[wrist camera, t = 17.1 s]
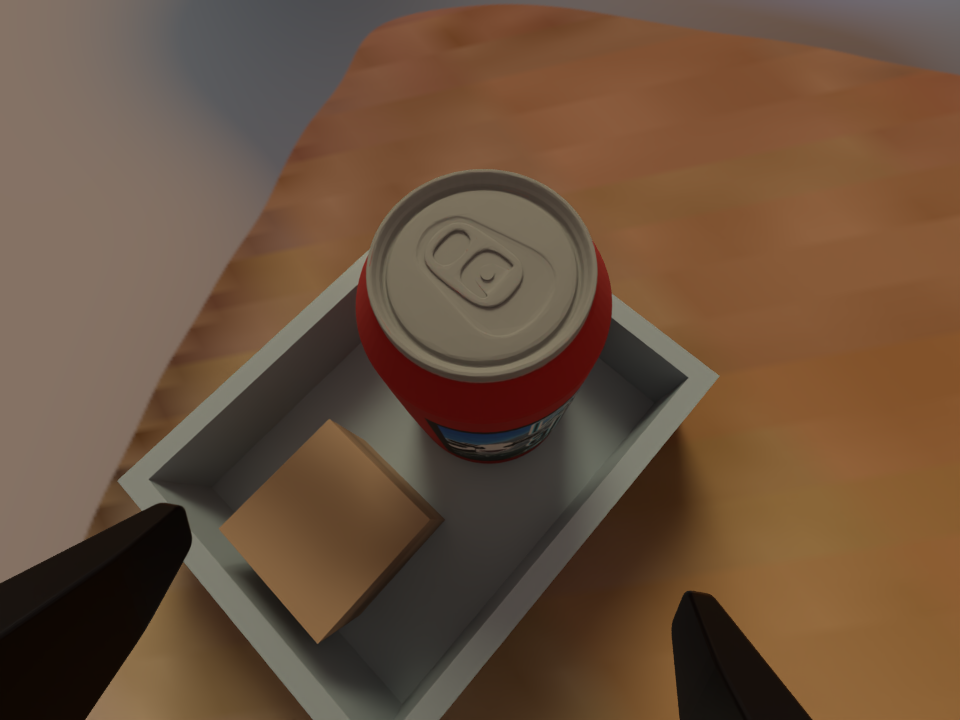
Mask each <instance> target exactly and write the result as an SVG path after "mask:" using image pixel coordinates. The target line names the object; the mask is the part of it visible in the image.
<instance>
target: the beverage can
mask: <svg viewBox="0 0 960 720" xmlns="http://www.w3.org/2000/svg"><path fill="white" fill-rule="evenodd" d="M611 317H612V292H611V285H610V281H609V276H608V273H607V270H606V267H605V264H604V261H603V259H602V257H601V255H600V253H599V251H598V249H597V247H596V245H595V244H594V242H593V241H592V239H591V236H590V234H589V232H588V229H587V228H586V226H585V224H584V222H583V221H582V219H581V218H580V216H579V215H578V213H577V212H576V211H575V210H574V209H573V208H572V206H571V205H570V204H569V203H568V202H567V201H566V200H565V199H563V198H562V197H561V196H560V195H559V194H557V193H556V192H555V191H553V190H552V189H550V188H549V187H547V186H545V185H544V184H542V183H540V182H538V181H536V180H534V179H531V178H529V177H526V176H523V175H520V174H516V173H512V172H508V171H502V170H493V169H475V170H466V171H459V172H454V173H451V174H447V175H444V176H441V177H438V178H435V179H433V180H431V181H429V182H427V183H425V184H423V185H421V186H420V187H418V188H416V189H415V190H413V191H412V192H410V193H409V194H408V195H406V196H405V197H404V198H403V199H402V200H400V201H399V202H398V203H397V204H396V205H395V206H394V207H393V209H392V210H391V211H390V212H389V213H388V214H387V216H386V217H385V218H384V220H383V221H382V223H381V225H380V226H379V228H378V230H377V232H376V234H375V236H374V238H373V241H372V244H371V247H370V250H369V254H368V256H367V258H366V261H365V263H364V265H363V268H362V271H361V274H360V278H359V282H358V287H357V294H356V321H357V328H358V332H359V336H360V340H361V343H362V345H363V348H364V350H365V353H366V355H367V357H368V359H369V361H370V362H371V364H372V366H373V367H374V369H375V370H376V372H377V373H378V374H379V376H380V377H381V378H382V380H383V381H384V382H385V383H386V385H387V386H388V387H389V389H390V390H391V391H392V393H393V394H394V395H395V396H396V398H397V399H398V400H399V401H400V403H401V404H402V405H403V406H404V408H405V409H406V410H407V411H408V413H409V414H410V415H411V416H412V417H413V418H414V420H415V421H416V422H417V423H418V424H419V425H420V427H421V428H422V429H423V430H424V431H425V432H426V433H427V434H428V435H429V436H430V437H431V438H432V440H433V441H434V442H435V443H437V444H438V445H439V446H440V447H441V448H443V449H444V450H445V451H447V452H448V453H450V454H452V455H454V456H456V457H458V458H461V459H463V460H466V461H470V462H475V463H482V464H495V463H503V462H507V461H511V460H514V459H517V458H519V457H521V456H523V455H525V454H527V453H529V452H530V451H532V450H534V449H535V448H536V447H537V446H539V445H540V444H541V443H542V442H543V441H544V440H545V439H546V438H547V437H548V435H549V434H550V433H551V431H552V430H553V429H554V427H555V426H556V425H557V423H558V422H559V420H560V419H561V417H562V416H563V415H564V413H565V412H566V410H567V409H568V407H569V405H570V404H571V402H572V401H573V399H574V398H575V396H576V394H577V393H578V391H579V390H580V388H581V386H582V385H583V383H584V381H585V380H586V378H587V376H588V375H589V373H590V371H591V370H592V368H593V366H594V364H595V363H596V361H597V359H598V358H599V356H600V354H601V352H602V349H603V347H604V345H605V342H606V339H607V336H608V332H609V329H610V323H611Z"/></svg>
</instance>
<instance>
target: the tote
mask: <svg viewBox="0 0 960 720" xmlns="http://www.w3.org/2000/svg"><path fill="white" fill-rule="evenodd" d="M369 250H370V249H369ZM369 250H368V251H367V252H366V253H365V254H364V255H363V256H362V257H361V258H359V259H358V260H357V261H356V262H355V263H354V264H353V265H352V266H351V267H350V268H349V269H348V270H346V271H345V272H344V273H343V274H342V275H341V276H340V277H339V278H338V279H337V280H336V281H334V282H333V283H332V284H331V285H330V286H329V287H328V288H327V289H326V290H325V291H324V292H322V293H321V294H320V295H319V296H318V297H317V298H316V299H315V300H314V301H313V302H312V303H310V304H309V305H308V306H307V307H306V308H305V309H304V310H303V311H302V312H301V313H300V314H298V315H297V316H296V317H295V318H294V319H293V320H292V321H291V322H290V323H289V324H288V325H287V326H285V327H284V328H283V329H282V330H281V331H280V332H279V333H278V334H277V335H276V336H275V337H273V338H272V339H271V340H270V341H269V342H268V343H267V344H266V345H265V346H264V347H263V348H261V349H260V350H259V351H258V352H257V353H256V354H255V355H254V356H253V357H252V358H251V359H249V360H248V361H247V362H246V363H245V364H244V365H243V366H242V367H241V368H240V369H239V370H238V371H236V372H235V373H234V374H233V375H232V376H231V377H230V378H229V379H228V380H227V381H226V382H224V383H223V384H222V385H221V386H220V387H219V388H218V389H217V390H216V391H215V392H214V393H212V394H211V395H210V396H209V397H208V398H207V399H206V400H205V401H204V402H203V403H202V404H200V405H199V406H198V407H197V408H196V409H195V410H194V411H193V412H192V413H191V414H190V415H188V416H187V417H186V418H185V419H184V420H183V421H182V422H181V423H180V424H179V425H178V426H177V427H175V428H174V429H173V430H172V431H171V432H170V433H169V434H168V435H167V436H166V437H165V438H163V439H162V440H161V441H160V442H159V443H158V444H157V445H156V446H155V447H154V448H153V449H151V450H150V451H149V452H148V453H147V454H146V455H145V456H144V457H143V458H142V459H141V460H139V461H138V462H137V463H136V464H135V465H134V466H133V467H132V468H131V469H130V470H129V471H128V472H126V473H125V474H124V475H123V476H122V477H121V478H120V479H119V480H118V482H119V483H120V485H121V486H122V487H123V488H124V490H125V491H126V492H127V493H128V494H129V496H130V497H131V498H132V499H133V501H134V502H135V503H136V504H137V505H138V507H139V508H140V509H141V510H142V511H143V510H145V509H147V508H149V507H151V506H153V505H155V504H158V503H171V504H177V505H181V506H183V507H184V508H185V510H186V514H187V517H188V521H189V525H190V529H191V533H192V544H191V548H190V550H189V552H188V554H187V556H186V558H185V560H184V561H183V562H184V563H185V564H186V565H187V566H188V568H189V569H190V570H191V571H192V573H193V574H194V575H195V576H196V577H197V579H198V580H199V581H200V582H201V584H202V585H203V586H204V587H205V588H206V590H207V591H208V592H209V593H210V595H211V596H212V597H213V598H214V599H215V601H216V602H217V603H218V604H219V606H220V607H221V608H222V609H223V610H224V612H225V613H226V614H227V615H228V617H229V618H230V619H231V620H232V621H233V623H234V624H235V625H236V626H237V628H238V629H239V630H240V631H241V632H242V634H243V635H244V636H245V637H246V638H247V640H248V641H249V642H250V643H251V645H252V646H253V647H254V648H255V649H256V651H257V652H258V653H259V654H260V656H261V657H262V658H263V659H264V660H265V662H266V663H267V664H268V665H269V667H270V668H271V669H272V670H273V671H274V673H275V674H276V675H277V676H278V678H279V679H280V680H281V681H282V682H283V684H284V685H285V686H286V687H287V689H288V690H289V691H290V692H291V693H292V695H293V696H294V697H295V698H296V700H297V701H298V702H299V703H300V704H301V706H302V707H303V708H304V709H305V711H306V712H307V713H308V714H309V715H310V717H311V718H312V719H313V720H440V718H441V717H442V716H443V715H444V713H445V712H446V711H447V710H448V709H449V707H450V706H451V705H452V704H453V702H454V701H455V700H456V699H457V698H458V696H459V695H460V694H461V693H462V691H463V690H464V689H465V688H466V686H467V685H468V684H469V683H470V682H471V680H472V679H473V678H474V677H475V675H476V674H477V673H478V672H479V671H480V669H481V668H482V667H483V666H484V664H485V663H486V662H487V661H488V660H489V658H490V657H491V656H492V655H493V653H494V652H495V651H496V650H497V648H498V647H499V646H500V645H501V644H502V642H503V641H504V640H505V639H506V637H507V636H508V635H509V634H510V633H511V631H512V630H513V629H514V628H515V626H516V625H517V624H518V623H519V621H520V620H521V619H522V618H523V617H524V615H525V614H526V613H527V612H528V610H529V609H530V608H531V607H532V606H533V604H534V603H535V602H536V601H537V599H538V598H539V597H540V596H541V595H542V593H543V592H544V591H545V590H546V588H547V587H548V586H549V585H550V583H551V582H552V581H553V580H554V579H555V577H556V576H557V575H558V574H559V572H560V571H561V570H562V569H563V568H564V566H565V565H566V564H567V563H568V561H569V560H570V559H571V558H572V556H573V555H574V554H575V553H576V552H577V550H578V549H579V548H580V547H581V545H582V544H583V543H584V542H585V541H586V539H587V538H588V537H589V536H590V534H591V533H592V532H593V531H594V529H595V528H596V527H597V526H598V525H599V523H600V522H601V521H602V520H603V518H604V517H605V516H606V515H607V514H608V512H609V511H610V510H611V509H612V507H613V506H614V505H615V504H616V503H617V501H618V500H619V499H620V498H621V496H622V495H623V494H624V493H625V491H626V490H627V489H628V488H629V487H630V485H631V484H632V483H633V482H634V480H635V479H636V478H637V477H638V476H639V474H640V473H641V472H642V471H643V469H644V468H645V467H646V466H647V464H648V463H649V462H650V461H651V460H652V458H653V457H654V456H655V455H656V453H657V452H658V451H659V450H660V449H661V447H662V446H663V445H664V444H665V442H666V441H667V440H668V439H669V438H670V436H671V435H672V434H673V433H674V431H675V430H676V429H677V428H678V426H679V425H680V424H681V423H682V422H683V420H684V419H685V418H686V417H687V415H688V414H689V413H690V412H691V411H692V409H693V408H694V407H695V406H696V404H697V403H698V402H699V401H700V399H701V398H702V397H703V396H704V395H705V393H706V392H707V391H708V390H709V388H710V387H711V386H712V385H713V384H714V382H715V381H716V380H717V379H718V377H719V375H718V374H716V373H715V372H714V371H712V370H711V369H710V368H708V367H707V366H706V365H704V364H703V363H702V362H701V361H699V360H698V359H697V358H695V357H694V356H693V355H691V354H690V353H689V352H687V351H686V350H685V349H684V348H682V347H681V346H680V345H678V344H677V343H676V342H674V341H673V340H672V339H670V338H669V337H668V336H667V335H665V334H664V333H663V332H661V331H660V330H659V329H657V328H656V327H655V326H653V325H652V324H651V323H650V322H648V321H647V320H646V319H644V318H643V317H642V316H640V315H639V314H638V313H636V312H635V311H634V310H633V309H631V308H630V307H629V306H627V305H626V304H625V303H623V302H622V301H621V300H619V299H618V298H617V297H616V296H614V295H613V294H612V317H611V323H610V329H609V332H608V336H607V339H606V342H605V345H604V347H603V349H602V352H601V354H600V356H599V358H598V359H597V361H596V363H595V364H594V366H593V368H592V370H591V371H590V373H589V375H588V376H587V378H586V380H585V381H584V383H583V385H582V386H581V388H580V390H579V391H578V393H577V394H576V396H575V398H574V399H573V401H572V402H571V404H570V405H569V407H568V409H567V410H566V412H565V413H564V415H563V416H562V417H561V419H560V420H559V422H558V423H557V425H556V426H555V427H554V429H553V430H552V431H551V433H550V434H549V435H548V437H547V438H546V439H545V440H544V441H543V442H542V443H541V444H540V445H539V446H537V447H536V448H535V449H534V450H532V451H530V452H529V453H527V454H525V455H523V456H521V457H519V458H517V459H514V460H511V461H507V462H503V463H495V464H482V463H475V462H470V461H466V460H463V459H461V458H458V457H456V456H454V455H452V454H450V453H448V452H447V451H445V450H444V449H443V448H441V447H440V446H439V445H438V444H437V443H435V442H434V441H433V440H432V438H431V437H430V436H429V435H428V434H427V433H426V432H425V431H424V430H423V429H422V428H421V427H420V425H419V424H418V423H417V422H416V421H415V420H414V418H413V417H412V416H411V415H410V414H409V413H408V411H407V410H406V409H405V408H404V406H403V405H402V404H401V403H400V401H399V400H398V399H397V398H396V396H395V395H394V394H393V393H392V391H391V390H390V389H389V387H388V386H387V385H386V383H385V382H384V381H383V380H382V378H381V377H380V376H379V374H378V373H377V372H376V370H375V369H374V367H373V366H372V364H371V362H370V361H369V359H368V357H367V355H366V353H365V350H364V348H363V345H362V343H361V340H360V336H359V332H358V328H357V321H356V294H357V287H358V282H359V278H360V274H361V271H362V268H363V265H364V263H365V261H366V258H367V256H368V254H369ZM329 419H330V420H332V421H334V422H335V423H337V424H339V425H340V426H342V427H344V428H345V429H347V430H349V431H350V432H352V433H354V434H355V435H357V436H359V437H360V438H362V439H364V440H365V441H366V442H367V443H368V444H369V445H370V446H371V447H372V448H373V449H374V450H375V451H376V452H377V453H378V454H379V455H380V456H381V457H382V458H383V459H384V460H385V461H386V462H387V463H388V464H390V465H391V466H392V467H393V468H394V469H395V470H396V471H397V472H398V473H399V474H400V475H401V476H402V477H403V478H404V479H405V480H406V481H407V482H408V483H409V484H410V485H411V486H412V487H413V488H414V489H415V490H416V491H417V492H418V493H419V494H420V495H421V496H422V497H423V498H424V499H425V500H426V501H427V502H428V503H429V504H430V505H431V506H432V507H433V508H434V509H435V510H436V511H437V512H438V513H439V514H440V515H441V516H442V517H443V518H444V519H445V521H444V522H443V523H442V524H441V525H440V526H439V527H438V528H437V529H436V531H435V532H434V533H433V534H432V535H431V536H430V537H429V538H428V540H427V541H426V542H425V543H424V544H423V545H422V546H421V547H420V548H419V550H418V551H417V552H416V553H415V554H414V555H413V556H412V557H411V559H410V560H409V561H408V562H407V563H406V564H405V565H404V566H403V567H402V569H401V570H400V571H399V572H398V573H397V574H396V575H395V576H394V578H393V579H392V580H391V581H390V582H389V583H388V584H387V585H386V586H385V588H384V589H383V590H382V591H381V592H380V593H379V594H378V595H377V596H376V598H375V599H374V600H373V601H372V602H371V603H370V604H369V605H368V607H367V608H366V609H365V610H364V611H363V612H362V613H361V614H360V615H359V616H358V617H356V618H355V619H353V620H352V621H350V622H349V623H348V624H346V625H345V626H343V627H342V628H340V629H339V630H337V631H336V632H334V633H333V634H332V635H330V636H329V637H327V638H326V639H324V640H323V641H321V642H320V643H318V644H317V643H316V642H315V640H314V639H313V638H312V637H311V636H310V635H309V633H308V632H307V631H306V630H305V629H304V628H303V626H302V625H301V624H300V623H299V622H298V621H297V619H296V618H295V617H294V616H293V615H292V614H291V612H290V611H289V610H288V609H287V608H286V607H285V605H284V604H283V603H282V602H281V601H280V600H279V599H278V597H277V596H276V595H275V594H274V593H273V592H272V590H271V589H270V588H269V587H268V586H267V585H266V583H265V582H264V581H263V580H262V579H261V578H260V576H259V575H258V574H257V573H256V572H255V571H254V569H253V568H252V567H251V566H250V565H249V564H248V562H247V561H246V560H245V559H244V558H243V557H242V556H241V554H240V553H239V552H238V551H237V550H236V549H235V547H234V546H233V545H232V544H231V543H230V542H229V540H228V539H227V538H226V537H225V536H224V535H223V533H222V532H221V531H220V530H219V528H220V527H221V526H222V525H223V524H224V523H225V522H226V521H227V520H228V519H229V518H230V517H231V516H232V515H233V514H234V513H235V512H236V511H237V510H238V509H239V508H240V507H241V506H242V505H243V504H244V503H245V502H246V501H247V500H248V499H249V498H250V497H251V496H252V495H253V494H254V493H255V492H256V491H257V490H258V489H259V488H260V487H261V486H262V485H263V484H264V483H265V482H266V481H267V480H268V479H269V478H270V477H271V476H272V475H273V474H274V473H275V472H276V471H277V470H278V469H279V468H280V467H281V466H282V465H283V464H284V463H285V462H286V461H287V460H288V459H289V458H290V457H291V456H292V455H293V454H294V453H295V452H296V451H297V450H298V449H299V448H300V447H301V446H302V445H303V444H304V443H305V442H306V441H307V440H308V439H309V438H310V437H311V436H312V435H313V434H314V433H315V432H316V431H317V430H318V429H319V428H320V427H321V426H322V425H323V424H324V423H325V422H326V421H327V420H329Z"/></svg>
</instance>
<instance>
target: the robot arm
mask: <svg viewBox="0 0 960 720" xmlns="http://www.w3.org/2000/svg"><path fill="white" fill-rule="evenodd" d="M191 544H192V533H191V529H190V525H189V521H188V517H187V514H186V510H185V508H184V507H183V506H181V505H177V504H171V503H158V504H155V505H153V506H151V507H149V508H147V509H145V510H143V511H141V512H139V513H137V514H135V515H133V516H131V517H129V518H127V519H126V520H124V521H122V522H120V523H118V524H116V525H114V526H112V527H110V528H108V529H106V530H104V531H102V532H100V533H98V534H96V535H94V536H92V537H90V538H88V539H86V540H84V541H82V542H81V543H79V544H77V545H75V546H73V547H71V548H69V549H67V550H65V551H63V552H61V553H59V554H57V555H55V556H53V557H51V558H49V559H47V560H45V561H43V562H41V563H39V564H37V565H36V566H33V567H31V568H30V569H28V570H26V571H24V572H22V573H20V574H18V575H16V576H14V577H12V578H10V579H8V580H6V581H4V582H2V583H0V720H85V719H86V718H87V716H88V715H89V713H90V712H91V710H92V709H93V707H94V706H95V704H96V703H97V701H98V700H99V698H100V697H101V695H102V694H103V693H104V691H105V690H106V688H107V687H108V685H109V684H110V682H111V681H112V679H113V678H114V676H115V675H116V673H117V672H118V670H119V669H120V667H121V666H122V664H123V663H124V661H125V660H126V658H127V657H128V656H129V654H130V653H131V651H132V650H133V648H134V647H135V645H136V644H137V642H138V640H139V639H140V637H141V636H142V634H143V633H144V631H145V630H146V628H147V626H148V624H149V623H150V621H151V619H152V618H153V616H154V614H155V612H156V610H157V609H158V607H159V605H160V603H161V601H162V599H163V598H164V596H165V594H166V592H167V590H168V589H169V587H170V585H171V583H172V581H173V580H174V578H175V576H176V574H177V572H178V570H179V569H180V567H181V565H182V563H183V561H184V560H185V558H186V556H187V554H188V552H189V550H190V548H191ZM672 644H673V654H674V665H675V675H676V686H677V696H678V707H679V717H680V720H812V719H811V717H810V716H809V715H808V714H807V712H806V711H805V710H804V709H803V707H802V706H801V705H800V704H799V702H798V701H797V700H796V699H795V697H794V696H793V695H792V694H791V692H790V691H789V690H788V689H787V687H786V686H785V685H784V684H783V682H782V681H781V680H780V679H779V677H778V676H777V675H776V674H775V672H774V671H773V670H772V669H771V667H770V666H769V665H768V664H767V662H766V661H765V660H764V659H763V657H762V656H761V655H760V654H759V652H758V651H757V650H756V649H755V647H754V646H753V645H752V644H751V642H750V641H749V640H748V639H747V637H746V636H745V635H744V634H743V632H742V631H741V630H740V629H739V627H738V626H737V625H736V624H735V622H734V621H733V620H732V619H731V617H730V616H729V615H728V614H727V612H726V611H725V610H724V609H723V607H722V606H721V605H720V604H719V602H718V601H717V600H716V599H715V598H714V597H713V596H712V595H710V594H707V593H702V592H696V591H686V592H685V593H684V595H683V597H682V599H681V602H680V604H679V607H678V609H677V611H676V614H675V616H674V619H673V622H672Z"/></svg>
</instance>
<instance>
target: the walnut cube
mask: <svg viewBox="0 0 960 720" xmlns="http://www.w3.org/2000/svg"><path fill="white" fill-rule="evenodd" d="M444 521H445V519H444V518H443V517H442V516H441V515H440V514H439V513H438V512H437V511H436V510H435V509H434V508H433V507H432V506H431V505H430V504H429V503H428V502H427V501H426V500H425V499H424V498H423V497H422V496H421V495H420V494H419V493H418V492H417V491H416V490H415V489H414V488H413V487H412V486H411V485H410V484H409V483H408V482H407V481H406V480H405V479H404V478H403V477H402V476H401V475H400V474H399V473H398V472H397V471H396V470H395V469H394V468H393V467H392V466H391V465H390V464H388V463H387V462H386V461H385V460H384V459H383V458H382V457H381V456H380V455H379V454H378V453H377V452H376V451H375V450H374V449H373V448H372V447H371V446H370V445H369V444H368V443H367V442H366V441H365V440H364V439H362V438H360V437H359V436H357V435H355V434H354V433H352V432H350V431H349V430H347V429H345V428H344V427H342V426H340V425H339V424H337V423H335V422H334V421H332V420H330V419H329V420H327V421H326V422H325V423H324V424H323V425H322V426H321V427H320V428H319V429H318V430H317V431H316V432H315V433H314V434H313V435H312V436H311V437H310V438H309V439H308V440H307V441H306V442H305V443H304V444H303V445H302V446H301V447H300V448H299V449H298V450H297V451H296V452H295V453H294V454H293V455H292V456H291V457H290V458H289V459H288V460H287V461H286V462H285V463H284V464H283V465H282V466H281V467H280V468H279V469H278V470H277V471H276V472H275V473H274V474H273V475H272V476H271V477H270V478H269V479H268V480H267V481H266V482H265V483H264V484H263V485H262V486H261V487H260V488H259V489H258V490H257V491H256V492H255V493H254V494H253V495H252V496H251V497H250V498H249V499H248V500H247V501H246V502H245V503H244V504H243V505H242V506H241V507H240V508H239V509H238V510H237V511H236V512H235V513H234V514H233V515H232V516H231V517H230V518H229V519H228V520H227V521H226V522H225V523H224V524H223V525H222V526H221V527H220V528H219V530H220V531H221V532H222V533H223V535H224V536H225V537H226V538H227V539H228V540H229V542H230V543H231V544H232V545H233V546H234V547H235V549H236V550H237V551H238V552H239V553H240V554H241V556H242V557H243V558H244V559H245V560H246V561H247V562H248V564H249V565H250V566H251V567H252V568H253V569H254V571H255V572H256V573H257V574H258V575H259V576H260V578H261V579H262V580H263V581H264V582H265V583H266V585H267V586H268V587H269V588H270V589H271V590H272V592H273V593H274V594H275V595H276V596H277V597H278V599H279V600H280V601H281V602H282V603H283V604H284V605H285V607H286V608H287V609H288V610H289V611H290V612H291V614H292V615H293V616H294V617H295V618H296V619H297V621H298V622H299V623H300V624H301V625H302V626H303V628H304V629H305V630H306V631H307V632H308V633H309V635H310V636H311V637H312V638H313V639H314V640H315V642H316V643H317V644H318V643H320V642H321V641H323V640H324V639H326V638H327V637H329V636H330V635H332V634H333V633H334V632H336V631H337V630H339V629H340V628H342V627H343V626H345V625H346V624H348V623H349V622H350V621H352V620H353V619H355V618H356V617H358V616H359V615H360V614H361V613H362V612H363V611H364V610H365V609H366V608H367V607H368V605H369V604H370V603H371V602H372V601H373V600H374V599H375V598H376V596H377V595H378V594H379V593H380V592H381V591H382V590H383V589H384V588H385V586H386V585H387V584H388V583H389V582H390V581H391V580H392V579H393V578H394V576H395V575H396V574H397V573H398V572H399V571H400V570H401V569H402V567H403V566H404V565H405V564H406V563H407V562H408V561H409V560H410V559H411V557H412V556H413V555H414V554H415V553H416V552H417V551H418V550H419V548H420V547H421V546H422V545H423V544H424V543H425V542H426V541H427V540H428V538H429V537H430V536H431V535H432V534H433V533H434V532H435V531H436V529H437V528H438V527H439V526H440V525H441V524H442V523H443V522H444Z"/></svg>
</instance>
